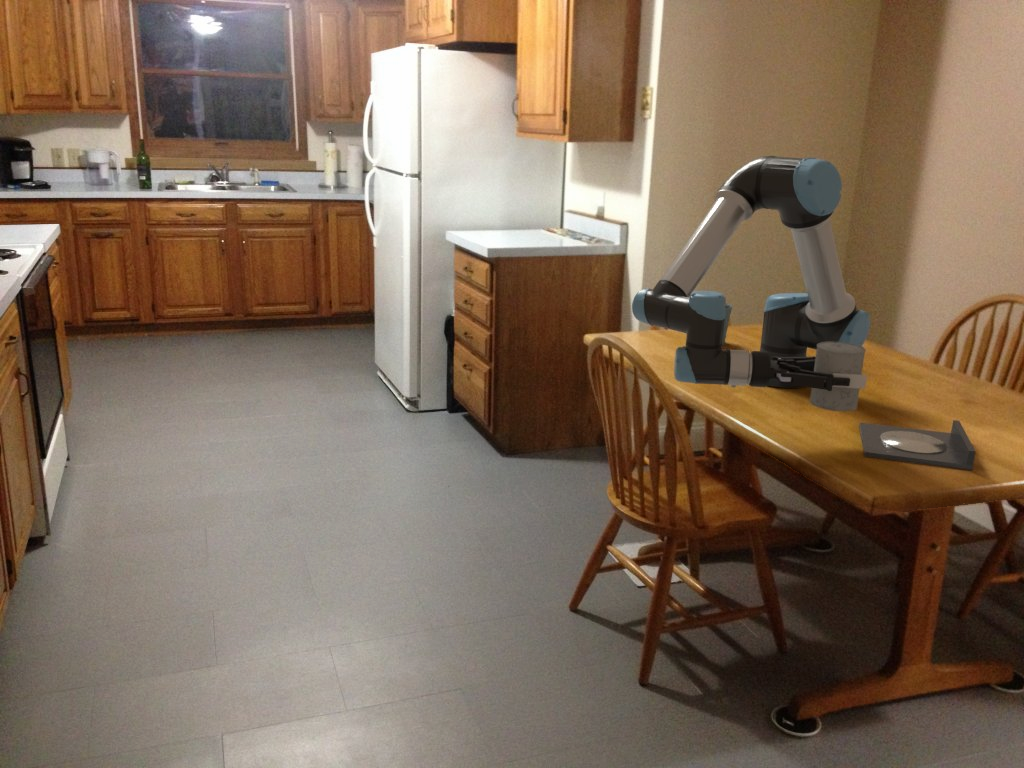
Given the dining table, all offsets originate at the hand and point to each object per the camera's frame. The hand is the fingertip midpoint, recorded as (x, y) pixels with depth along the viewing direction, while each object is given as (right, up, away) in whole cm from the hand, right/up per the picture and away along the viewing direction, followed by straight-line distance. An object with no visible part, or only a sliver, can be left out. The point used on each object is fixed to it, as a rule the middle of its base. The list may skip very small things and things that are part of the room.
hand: (859, 374), depth 184 cm
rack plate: (+13, -15, +4) cm, 20 cm away
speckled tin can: (-5, -6, +3) cm, 8 cm away
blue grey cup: (-11, +10, +88) cm, 90 cm away
